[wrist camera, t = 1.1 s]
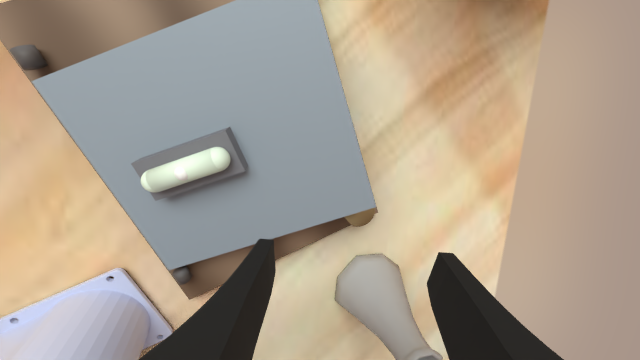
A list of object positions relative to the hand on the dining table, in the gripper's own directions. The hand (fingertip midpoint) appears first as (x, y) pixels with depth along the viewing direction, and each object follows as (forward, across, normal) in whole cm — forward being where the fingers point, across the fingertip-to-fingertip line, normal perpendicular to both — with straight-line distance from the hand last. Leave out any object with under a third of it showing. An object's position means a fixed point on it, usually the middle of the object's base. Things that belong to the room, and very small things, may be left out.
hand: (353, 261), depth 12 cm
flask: (+11, -4, +15) cm, 19 cm away
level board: (+8, +8, -2) cm, 11 cm away
